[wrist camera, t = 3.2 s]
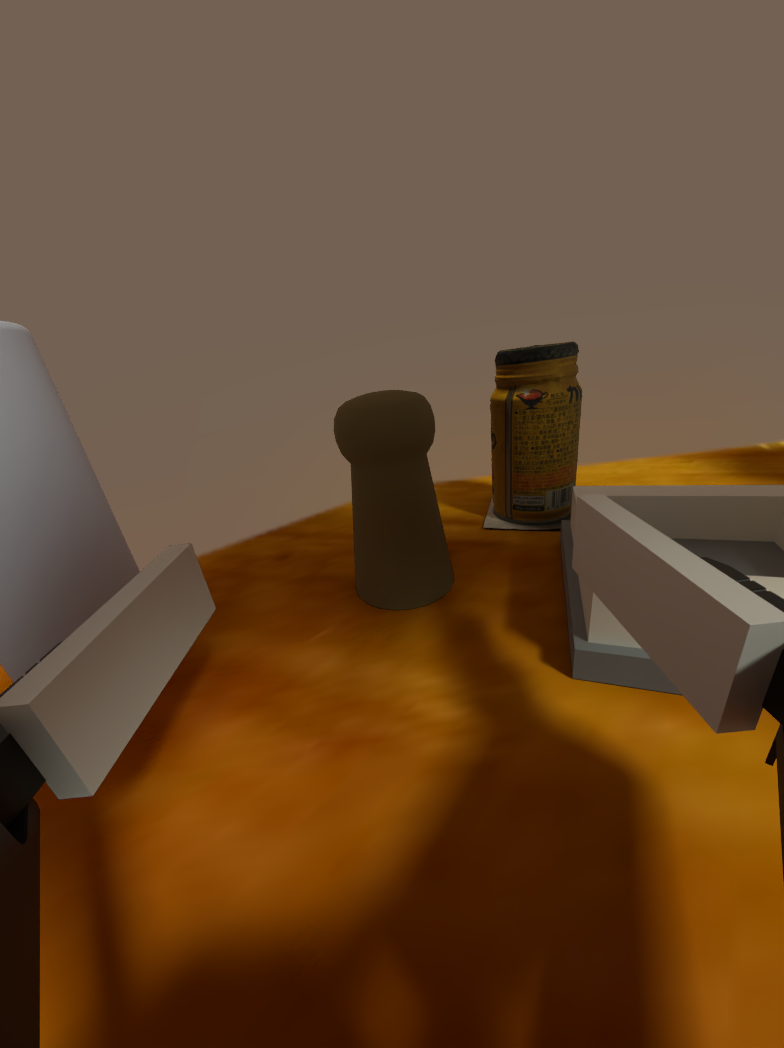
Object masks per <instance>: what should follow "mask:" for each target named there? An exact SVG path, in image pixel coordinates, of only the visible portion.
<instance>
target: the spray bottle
mask: <svg viewBox="0 0 784 1048" xmlns="http://www.w3.org/2000/svg"><path fill="white" fill-rule="evenodd" d="M139 573H140V571H139V569H138V567H137V565H136V563H135V560H134V558H133V556H132V554H131V552H130V549H129V548H128V545H127V543H126V541H125V538H124V536H123V534H122V532H121V530H120V527H119V525H118V523H117V521H116V519H115V517H114V514H113V512H112V510H111V508H110V505H109V503H108V501H107V499H106V497H105V494H104V492H103V490H102V488H101V486H100V483H99V481H98V479H97V477H96V475H95V472H94V470H93V468H92V466H91V464H90V461H89V459H88V457H87V455H86V453H85V450H84V448H83V446H82V444H81V442H80V439H79V437H78V435H77V433H76V431H75V429H74V426H73V424H72V422H71V420H70V417H69V415H68V413H67V411H66V409H65V406H64V404H63V402H62V400H61V398H60V395H59V393H58V391H57V389H56V387H55V384H54V382H53V380H52V378H51V376H50V373H49V371H48V369H47V367H46V365H45V363H44V360H43V358H42V356H41V354H40V351H39V349H38V347H37V345H36V343H35V341H34V338H33V336H32V334H31V333H30V331H28V329H26V328H25V327H23V326H21V325H19V324H16V323H12V322H6V321H0V664H1V666H2V667H3V669H4V670H5V671H6V673H7V674H8V676H9V677H10V678H11V680H12V681H13V683H14V682H15V681H16V680H17V679H19V678H20V677H21V676H25V672H26V671H28V670H29V669H30V668H31V667H32V666H33V665H34V664H35V663H39V662H40V659H41V658H42V657H43V656H44V655H45V654H47V653H48V652H49V651H50V650H51V649H52V648H53V647H54V646H56V645H57V644H58V643H60V642H61V641H63V640H65V639H66V638H67V637H69V636H70V635H71V634H72V633H73V632H74V631H75V630H76V629H77V628H79V627H80V626H81V625H82V624H83V623H84V622H85V621H86V620H87V619H89V618H90V617H91V616H92V615H93V614H94V613H95V612H96V611H97V610H99V609H100V608H101V607H102V606H103V605H104V604H105V603H106V602H107V601H109V600H110V599H111V598H112V597H113V596H114V595H115V594H116V593H117V592H119V591H120V590H121V589H122V588H123V587H124V586H125V585H126V584H127V583H129V582H130V581H131V580H132V579H133V578H134V577H135V576H136V575H137V574H139Z"/></svg>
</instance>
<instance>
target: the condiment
mask: <svg viewBox="0 0 784 1048" xmlns="http://www.w3.org/2000/svg"><path fill="white" fill-rule="evenodd" d="M578 352H579V350H578V345H577V344H576V343H575V342H566V343H555V344H548V345H535V346H530V347H523V348H516V349H509V350H502V351H499V352H498V353H497V355H496V358H495V363H496V373H497V374H496V376H495V382H496V386H497V387H496V389H495V391H494V392H493V394H492V396H491V400H490V401H491V405H490V410H491V441H492V459H491V460H492V497H491V502H490V505H489V509H488V513H487V516H486V519H485V522H484V526H483V528H501V529H521V530H530V529H534V530H539V529H547V530H549V529H554V528H559V529H561V525H560V524H561V520H571V508H572V494H573V486H575V485H576V471H577V461H578V459H577V457H578V441H579V428H580V416H581V401H582V389H581V387H580V385H579V383H578V381H577V379H576V374H577V373H578V366H577V364H576V361H577V356H578V355H577V354H578Z"/></svg>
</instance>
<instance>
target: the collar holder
mask: <svg viewBox="0 0 784 1048" xmlns="http://www.w3.org/2000/svg"><path fill="white" fill-rule="evenodd" d="M596 493H601V494H603V495H604V496H606V497H607V498H609V499H611V500H612V501H614V502H615V503H617V504H618V505H620V506H621V507H623V508H624V509H626V510H627V511H629V512H630V513H632V514H634V515H635V516H637V517H638V518H640V519H641V520H643V521H644V522H646V523H647V524H649V525H650V526H652V527H653V528H655V529H657V530H658V531H660V532H661V533H663V534H664V535H666V536H667V537H669V538H670V539H672V540H673V541H675V542H676V543H678V544H680V545H681V546H683V547H684V548H686V549H687V550H689V551H690V552H692V553H693V554H695V555H696V556H698V557H699V558H700V557H707V558H710V559H713V560H716V561H718V562H721V563H724V564H726V565H729V566H731V567H733V568H734V569H736V570H738V571H739V572H741V573H742V574H744V575H746V576H747V577H749V578H750V581H753V580H754V581H755V582H757V583H759V584H760V585H762V586H763V587H765V588H766V590H767V591H771V592H773V593H775V594H776V595H778V596H780V597H781V598H783V599H784V485H691V486H573V494H572V508H571V520H561V536H560V544H561V555H562V566H563V578H564V589H565V600H566V612H567V623H568V634H569V646H570V657H571V668H572V678H574V679H581V680H588V681H594V682H601V683H607V684H614V685H620V686H627V687H634V688H640V689H647V690H653V691H660V692H667V693H673V694H680V695H682V694H681V692H680V691H679V690H678V689H677V688H676V687H675V685H674V684H673V683H672V682H671V681H670V680H669V679H668V677H667V676H666V675H665V674H664V673H663V672H662V671H661V669H660V668H659V667H658V666H657V665H656V664H655V662H654V661H653V660H652V659H651V658H650V657H649V656H648V654H647V653H646V652H645V651H644V650H643V649H642V648H641V646H640V645H639V644H638V643H637V642H636V641H635V640H634V638H633V637H632V636H631V635H630V634H629V633H628V631H627V630H626V629H625V628H624V627H623V626H622V625H621V623H620V622H619V621H618V620H617V619H616V618H615V617H614V615H613V614H612V613H611V612H610V611H609V610H608V608H607V607H606V606H605V605H604V604H603V603H602V602H601V600H600V599H599V598H598V597H597V596H596V595H595V594H594V592H593V591H592V590H591V589H590V588H589V587H588V585H587V584H586V583H585V582H584V581H583V580H582V579H581V577H580V576H579V575H578V574H577V573H576V572H575V571H574V569H573V568H572V558H573V544H574V531H575V517H576V504H577V496H580V495H588V494H596Z"/></svg>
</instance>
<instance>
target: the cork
mask: <svg viewBox="0 0 784 1048" xmlns="http://www.w3.org/2000/svg"><path fill="white" fill-rule="evenodd" d="M434 433H435V420H434V415H433V412H432V409H431V405H430V404H429V402H428V401H427V400H426V398H425V397H424V396H422V395H421V394H418V393H416V392H409V391H403V390H387V391H378V392H372V393H368V394H364V395H361V396H358V397H356V398H353V399H351V400H349V401H346V402H345V403H344V404H343V405H341V406H340V407H339V408H338V410H337V413H336V416H335V418H334V434H335V439H336V443H337V445H338V447H339V449H340V451H341V453H342V455H343V456H344V457H345V458H346V459H347V460H348V461H349V462H350V463H351V481H352V506H353V531H354V556H355V581H356V590H357V593H358V596H359V597H360V598H361V599H362V600H363V601H365V602H366V603H368V604H370V605H372V606H375V607H377V608H382V609H389V610H405V609H414V608H417V607H421V606H425V605H428V604H430V603H432V602H434V601H436V600H438V599H440V598H442V597H443V596H444V595H445V594H446V593H447V592H448V591H449V590H450V589H451V587H452V584H453V582H454V576H453V570H452V566H451V561H450V557H449V552H448V548H447V543H446V539H445V534H444V530H443V525H442V521H441V516H440V512H439V508H438V503H437V499H436V494H435V490H434V485H433V481H432V477H431V472H430V468H429V463H428V458H427V452H428V451H429V449H430V447H431V445H432V443H433V440H434Z"/></svg>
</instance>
